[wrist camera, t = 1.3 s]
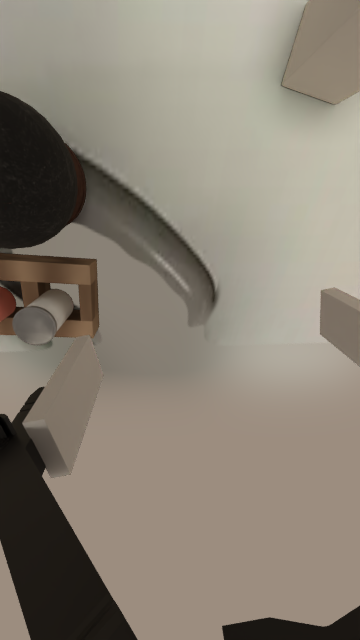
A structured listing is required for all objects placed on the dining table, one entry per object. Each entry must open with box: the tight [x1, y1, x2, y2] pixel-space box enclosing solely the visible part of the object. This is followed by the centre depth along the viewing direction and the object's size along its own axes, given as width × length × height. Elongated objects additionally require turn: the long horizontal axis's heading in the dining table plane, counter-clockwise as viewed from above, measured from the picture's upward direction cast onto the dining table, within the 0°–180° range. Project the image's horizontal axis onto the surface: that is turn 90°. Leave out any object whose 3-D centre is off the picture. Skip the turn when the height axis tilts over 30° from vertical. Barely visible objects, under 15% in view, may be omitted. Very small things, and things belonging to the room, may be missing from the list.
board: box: [0, 253, 99, 338], centre depth 37 cm, size 22×10×4 cm, turn 86°
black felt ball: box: [0, 91, 86, 249], centre depth 27 cm, size 13×13×15 cm
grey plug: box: [12, 289, 74, 345], centre depth 32 cm, size 4×4×7 cm
